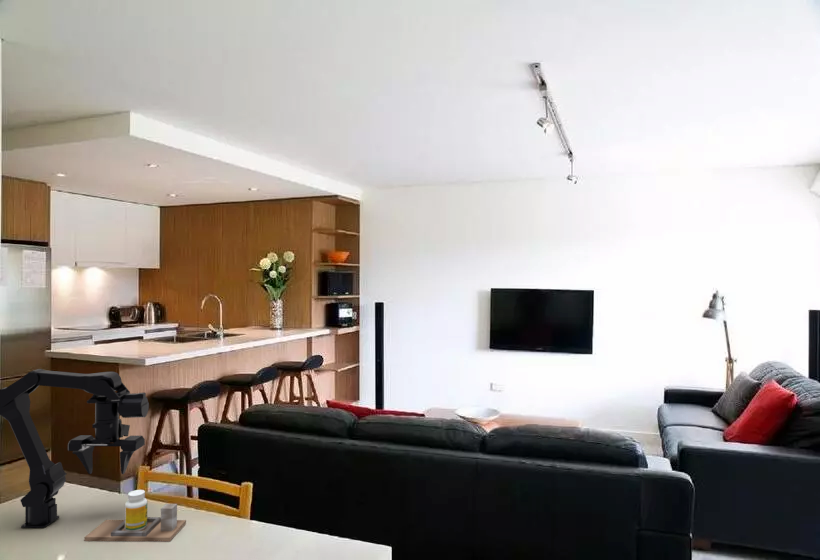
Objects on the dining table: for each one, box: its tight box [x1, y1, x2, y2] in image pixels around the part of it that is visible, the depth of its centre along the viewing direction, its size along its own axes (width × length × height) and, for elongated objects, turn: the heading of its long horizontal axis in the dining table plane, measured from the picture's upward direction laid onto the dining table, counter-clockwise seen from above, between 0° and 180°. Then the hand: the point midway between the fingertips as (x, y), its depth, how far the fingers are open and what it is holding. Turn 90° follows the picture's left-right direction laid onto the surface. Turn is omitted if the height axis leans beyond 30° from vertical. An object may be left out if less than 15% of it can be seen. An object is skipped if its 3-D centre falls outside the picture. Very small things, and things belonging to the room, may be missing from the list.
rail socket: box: [84, 503, 187, 542], centre depth 143 cm, size 22×10×7 cm, turn 91°
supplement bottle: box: [124, 489, 148, 531], centre depth 143 cm, size 5×5×10 cm
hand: (106, 473), depth 150 cm, fingers open, 9 cm apart
